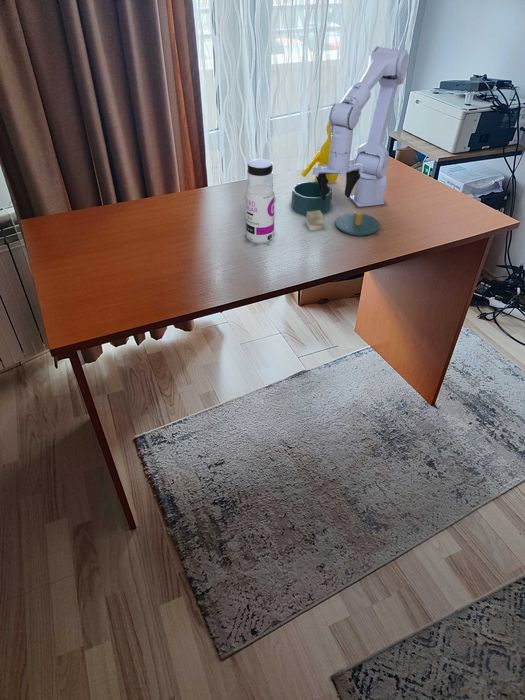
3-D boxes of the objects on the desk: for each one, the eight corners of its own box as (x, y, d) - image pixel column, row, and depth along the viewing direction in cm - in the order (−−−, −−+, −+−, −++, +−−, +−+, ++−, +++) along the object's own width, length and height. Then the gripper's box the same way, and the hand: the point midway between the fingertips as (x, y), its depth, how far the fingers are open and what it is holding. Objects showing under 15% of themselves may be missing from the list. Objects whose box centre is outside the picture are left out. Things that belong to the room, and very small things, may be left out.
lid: (353, 212, 154) (355, 199, 151) (388, 226, 147) (390, 213, 144) (326, 226, 147) (327, 212, 144) (361, 242, 140) (363, 228, 137)
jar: (258, 206, 157) (258, 170, 149) (242, 198, 161) (241, 163, 153) (277, 198, 162) (278, 163, 153) (261, 191, 166) (261, 156, 158)
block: (318, 222, 149) (319, 210, 146) (322, 228, 146) (324, 216, 143) (305, 224, 148) (306, 211, 145) (309, 230, 145) (310, 217, 142)
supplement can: (277, 233, 144) (278, 185, 133) (268, 246, 138) (269, 197, 128) (252, 229, 146) (251, 181, 135) (242, 242, 140) (241, 193, 130)
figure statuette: (340, 174, 177) (348, 110, 162) (351, 182, 171) (360, 117, 157) (298, 181, 172) (301, 117, 157) (307, 190, 166) (312, 124, 151)
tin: (323, 196, 162) (324, 179, 158) (335, 213, 153) (337, 196, 149) (287, 200, 160) (287, 183, 156) (297, 217, 151) (298, 200, 147)
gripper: (320, 158, 127) (316, 205, 136) (370, 153, 130) (363, 200, 139) (312, 148, 132) (308, 195, 141) (360, 144, 135) (354, 190, 144)
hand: (335, 197), depth 140 cm, fingers open, 7 cm apart
